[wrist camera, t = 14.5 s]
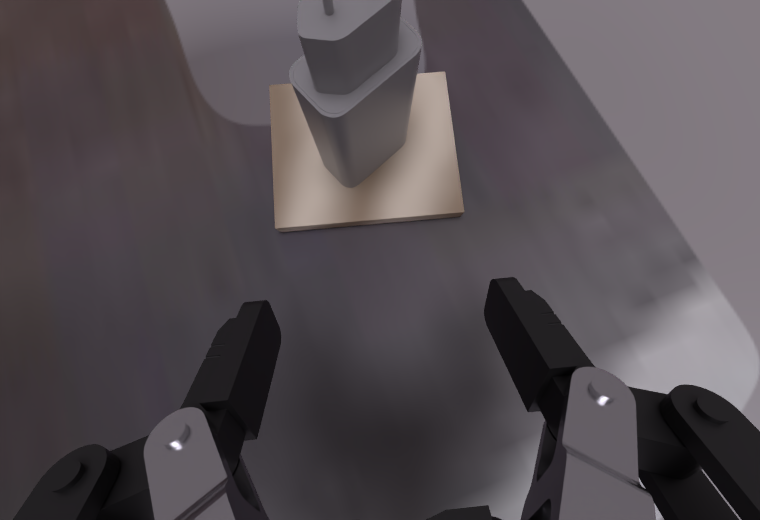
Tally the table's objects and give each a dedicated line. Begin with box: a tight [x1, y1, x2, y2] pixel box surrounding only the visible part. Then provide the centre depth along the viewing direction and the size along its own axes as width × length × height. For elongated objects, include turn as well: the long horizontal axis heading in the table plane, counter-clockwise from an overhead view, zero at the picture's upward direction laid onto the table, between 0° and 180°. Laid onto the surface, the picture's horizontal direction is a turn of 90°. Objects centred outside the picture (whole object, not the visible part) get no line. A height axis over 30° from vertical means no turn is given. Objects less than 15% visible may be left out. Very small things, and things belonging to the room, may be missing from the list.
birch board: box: [269, 72, 464, 232], centre depth 19 cm, size 12×10×1 cm
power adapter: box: [289, 0, 422, 188], centre depth 13 cm, size 3×5×12 cm, turn 133°
